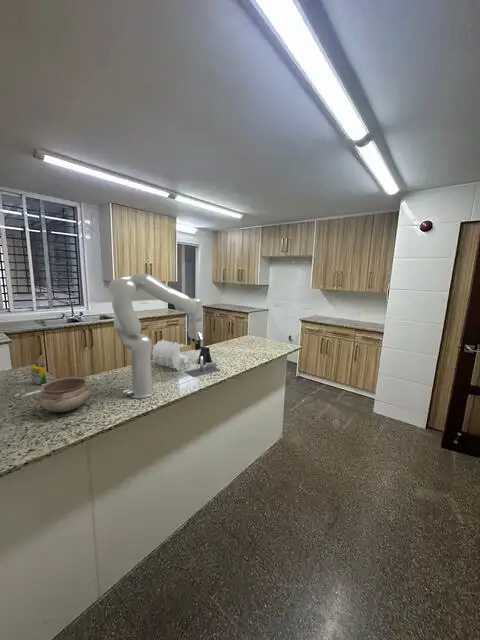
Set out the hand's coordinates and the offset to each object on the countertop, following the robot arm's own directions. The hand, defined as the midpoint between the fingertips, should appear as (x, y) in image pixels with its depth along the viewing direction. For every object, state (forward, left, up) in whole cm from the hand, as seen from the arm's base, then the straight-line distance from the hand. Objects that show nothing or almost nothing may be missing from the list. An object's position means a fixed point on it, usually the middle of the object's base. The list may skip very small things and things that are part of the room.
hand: (195, 348), depth 163 cm
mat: (+8, +5, -18) cm, 20 cm away
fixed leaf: (+12, +5, -18) cm, 22 cm away
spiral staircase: (-4, +24, -18) cm, 30 cm away
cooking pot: (-68, +1, -18) cm, 70 cm away
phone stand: (+18, +18, -18) cm, 31 cm away
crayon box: (-75, +43, -18) cm, 88 cm away
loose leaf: (-4, 0, 0) cm, 4 cm away
